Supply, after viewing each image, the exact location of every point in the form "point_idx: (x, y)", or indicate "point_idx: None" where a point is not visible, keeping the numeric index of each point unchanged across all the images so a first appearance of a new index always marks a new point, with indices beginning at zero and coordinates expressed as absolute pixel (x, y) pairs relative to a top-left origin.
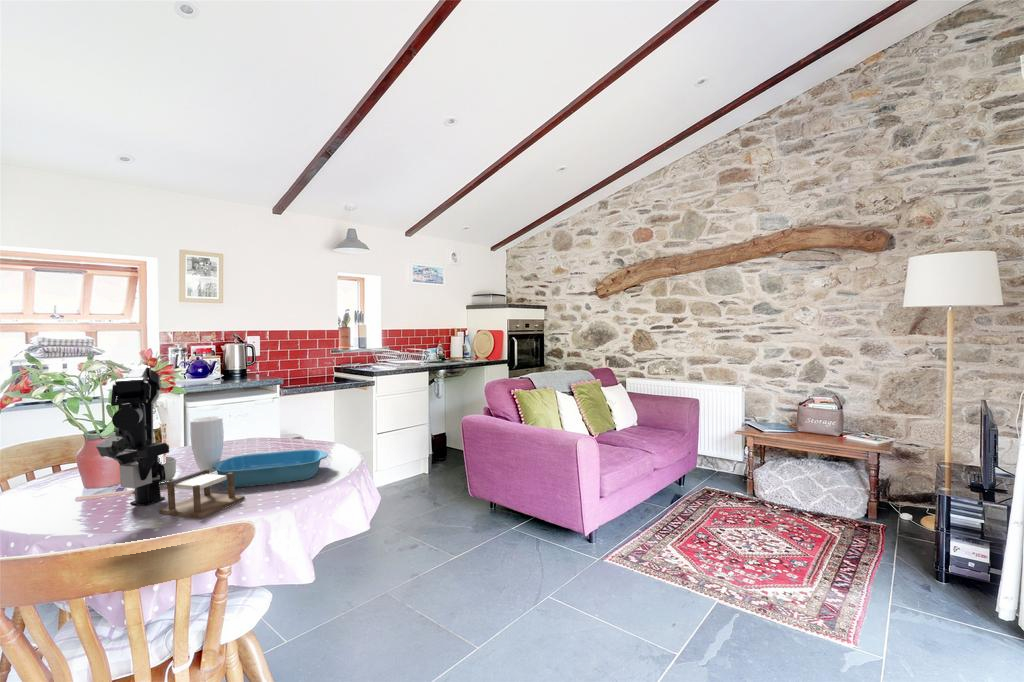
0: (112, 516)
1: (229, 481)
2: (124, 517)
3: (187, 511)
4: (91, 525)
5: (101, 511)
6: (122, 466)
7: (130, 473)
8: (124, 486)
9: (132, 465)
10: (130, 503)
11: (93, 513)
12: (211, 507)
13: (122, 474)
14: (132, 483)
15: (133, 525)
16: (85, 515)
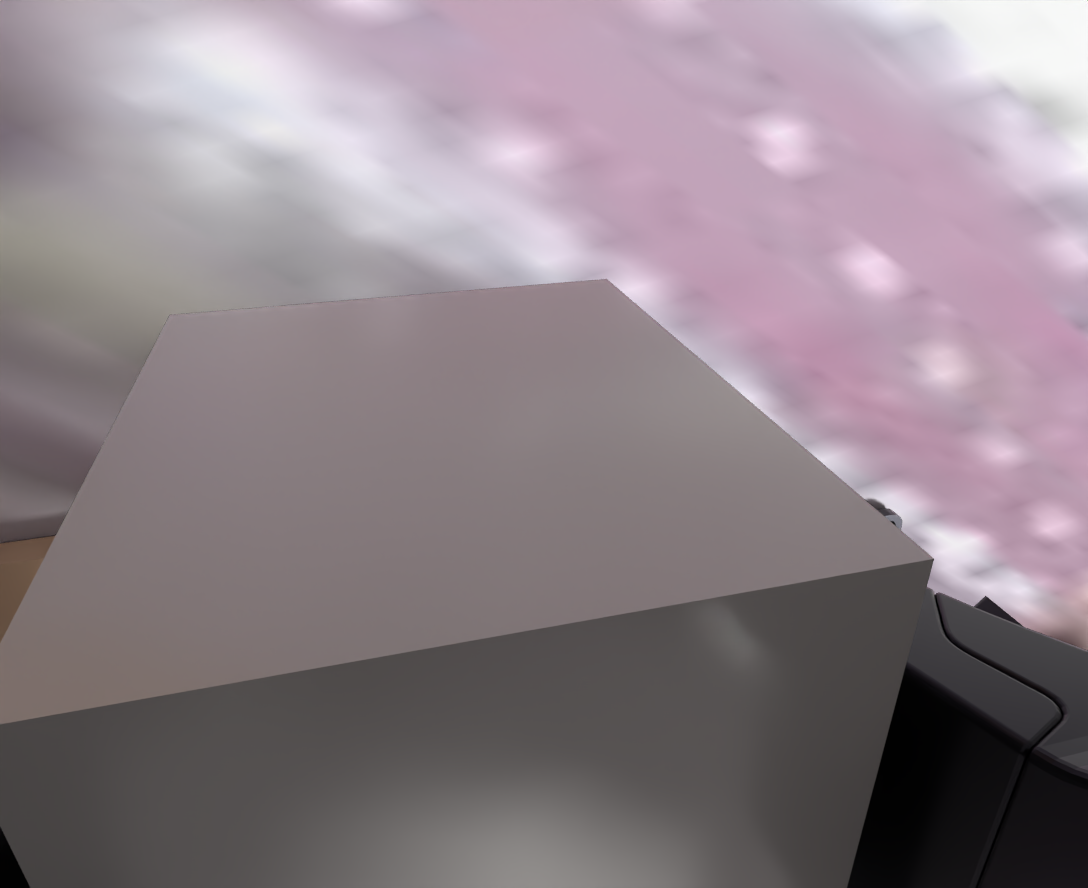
0: (801, 278)
1: None
2: (654, 301)
3: (22, 594)
4: (796, 31)
5: (1009, 324)
6: (741, 569)
7: (235, 483)
8: (495, 294)
9: (264, 793)
10: (890, 511)
11: (1042, 269)
12: None
13: (631, 405)
14: (207, 354)
15: (307, 176)
16: (1077, 211)
